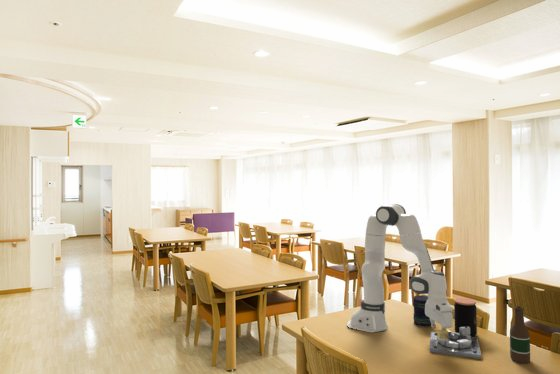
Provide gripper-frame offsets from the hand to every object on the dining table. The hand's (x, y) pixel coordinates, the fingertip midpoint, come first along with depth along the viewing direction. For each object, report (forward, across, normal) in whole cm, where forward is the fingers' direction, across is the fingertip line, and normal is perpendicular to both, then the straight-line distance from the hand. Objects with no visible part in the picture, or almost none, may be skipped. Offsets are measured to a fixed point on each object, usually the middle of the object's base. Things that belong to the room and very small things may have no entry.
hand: (438, 330), depth 195 cm
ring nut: (+4, +5, +5) cm, 8 cm away
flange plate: (+6, +5, +5) cm, 10 cm away
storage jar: (+7, -27, +6) cm, 28 cm away
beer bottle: (+7, +24, +25) cm, 36 cm away
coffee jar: (+7, -8, +20) cm, 22 cm away
